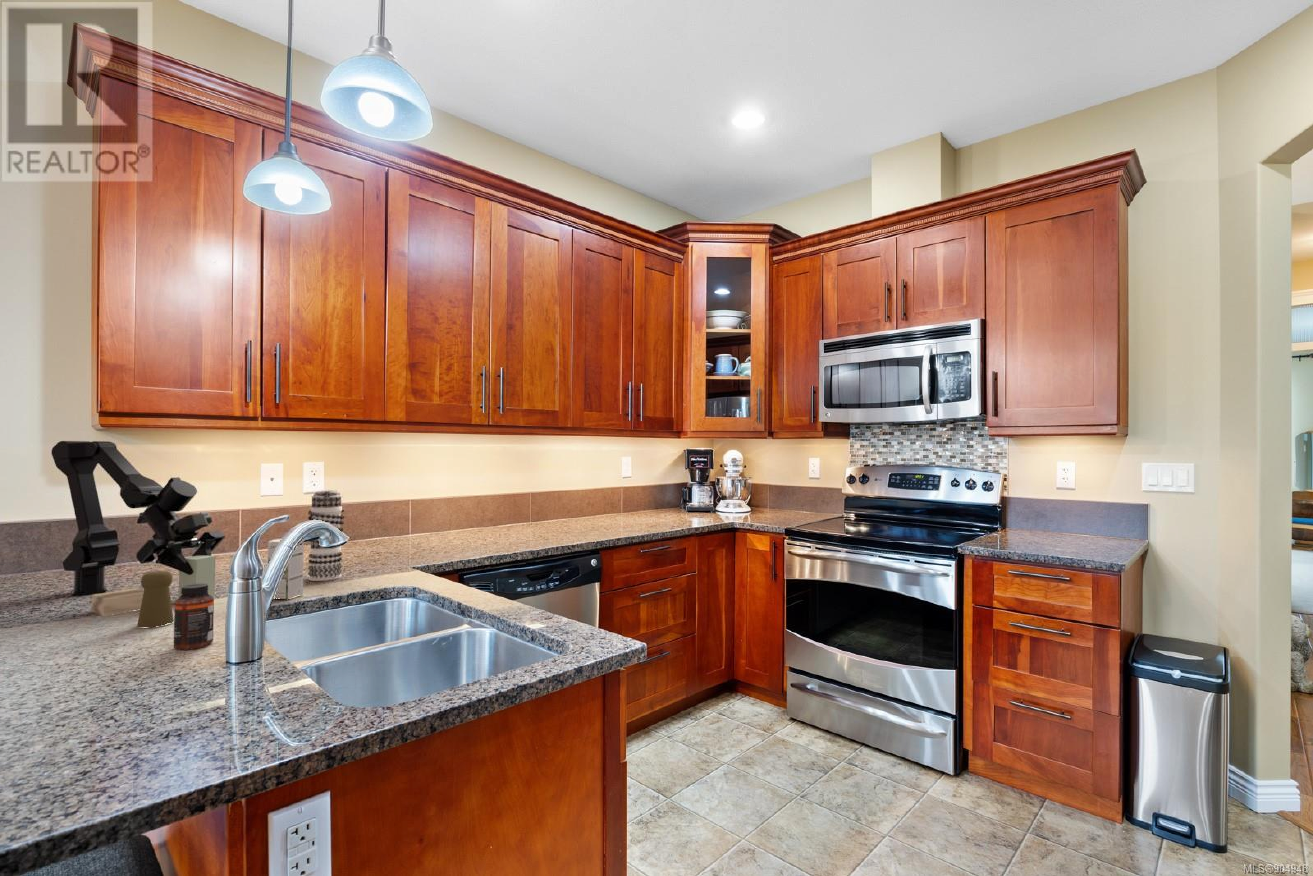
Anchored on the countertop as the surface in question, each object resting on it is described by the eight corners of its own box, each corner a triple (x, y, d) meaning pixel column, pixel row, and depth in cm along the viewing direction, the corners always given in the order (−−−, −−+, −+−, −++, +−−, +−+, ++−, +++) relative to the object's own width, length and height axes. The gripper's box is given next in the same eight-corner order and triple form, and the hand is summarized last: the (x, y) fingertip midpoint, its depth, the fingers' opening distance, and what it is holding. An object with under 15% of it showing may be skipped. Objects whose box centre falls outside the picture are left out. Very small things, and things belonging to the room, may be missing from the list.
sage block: (178, 600, 148) (179, 558, 148) (197, 595, 153) (198, 555, 153) (195, 601, 147) (196, 559, 147) (214, 596, 152) (215, 556, 152)
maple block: (91, 612, 138) (91, 594, 139) (135, 605, 145) (136, 588, 145) (104, 617, 134) (105, 599, 134) (149, 610, 141) (150, 592, 141)
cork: (180, 622, 130) (181, 570, 130) (146, 630, 125) (148, 575, 125) (164, 619, 133) (165, 568, 133) (130, 626, 127) (132, 572, 127)
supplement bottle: (220, 643, 116) (222, 583, 117) (187, 653, 111) (189, 590, 111) (198, 639, 118) (200, 581, 119) (165, 649, 113) (167, 587, 113)
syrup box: (303, 595, 155) (305, 537, 156) (287, 600, 150) (288, 541, 150) (282, 594, 156) (284, 537, 156) (265, 600, 150) (267, 540, 150)
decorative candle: (308, 576, 179) (309, 490, 180) (343, 573, 183) (345, 489, 183) (305, 582, 171) (307, 492, 171) (342, 579, 175) (344, 491, 175)
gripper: (147, 505, 142) (185, 555, 139) (220, 499, 160) (254, 543, 158) (119, 538, 143) (156, 588, 141) (194, 528, 162) (228, 572, 159)
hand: (202, 571), depth 150 cm, fingers closed on sage block, 5 cm apart
